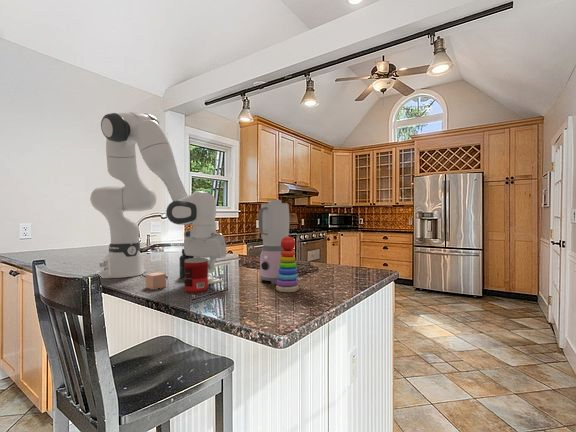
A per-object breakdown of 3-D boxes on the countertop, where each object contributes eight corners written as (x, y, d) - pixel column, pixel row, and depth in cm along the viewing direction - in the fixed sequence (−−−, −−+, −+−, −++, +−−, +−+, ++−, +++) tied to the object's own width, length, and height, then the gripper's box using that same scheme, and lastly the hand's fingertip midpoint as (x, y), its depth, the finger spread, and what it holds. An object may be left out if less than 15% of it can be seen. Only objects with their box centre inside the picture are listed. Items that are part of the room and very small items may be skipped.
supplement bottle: (176, 278, 131) (175, 249, 131) (185, 275, 137) (185, 247, 137) (190, 279, 129) (190, 250, 129) (199, 276, 135) (199, 248, 135)
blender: (273, 276, 133) (273, 201, 133) (297, 279, 126) (296, 200, 126) (247, 283, 121) (247, 200, 121) (271, 287, 114) (271, 198, 113)
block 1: (145, 288, 114) (145, 274, 114) (158, 285, 118) (158, 272, 118) (153, 290, 111) (152, 276, 111) (165, 287, 115) (165, 273, 115)
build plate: (189, 282, 123) (189, 280, 123) (206, 279, 129) (206, 276, 129) (204, 285, 117) (204, 283, 117) (221, 281, 124) (221, 279, 124)
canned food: (211, 288, 113) (211, 257, 113) (202, 294, 105) (201, 261, 105) (191, 287, 114) (191, 257, 114) (180, 293, 106) (180, 260, 106)
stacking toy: (296, 293, 105) (296, 237, 104) (273, 292, 106) (273, 237, 106) (300, 288, 112) (300, 235, 112) (278, 287, 114) (278, 235, 114)
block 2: (195, 272, 121) (195, 260, 121) (204, 270, 126) (203, 258, 126) (206, 273, 119) (205, 260, 119) (214, 271, 124) (214, 258, 124)
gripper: (230, 233, 120) (230, 269, 120) (193, 231, 131) (193, 265, 131) (218, 233, 114) (218, 271, 114) (180, 232, 125) (181, 267, 125)
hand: (204, 268), depth 123 cm, fingers closed on block 2, 5 cm apart
